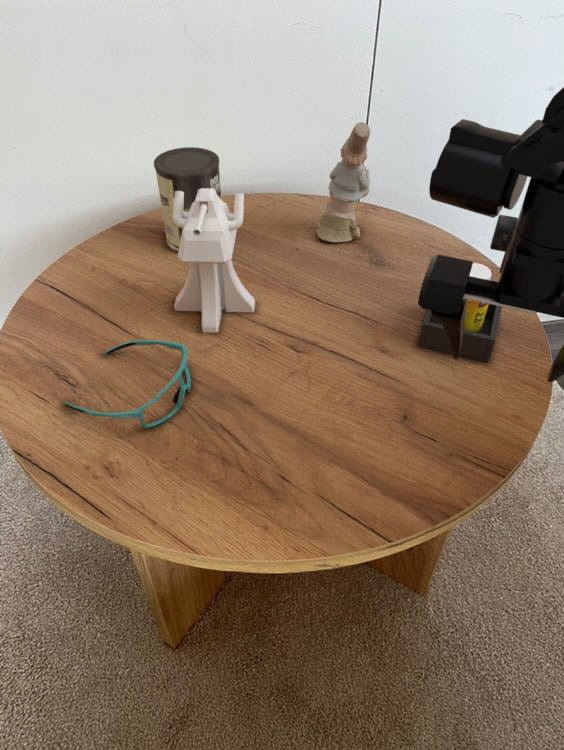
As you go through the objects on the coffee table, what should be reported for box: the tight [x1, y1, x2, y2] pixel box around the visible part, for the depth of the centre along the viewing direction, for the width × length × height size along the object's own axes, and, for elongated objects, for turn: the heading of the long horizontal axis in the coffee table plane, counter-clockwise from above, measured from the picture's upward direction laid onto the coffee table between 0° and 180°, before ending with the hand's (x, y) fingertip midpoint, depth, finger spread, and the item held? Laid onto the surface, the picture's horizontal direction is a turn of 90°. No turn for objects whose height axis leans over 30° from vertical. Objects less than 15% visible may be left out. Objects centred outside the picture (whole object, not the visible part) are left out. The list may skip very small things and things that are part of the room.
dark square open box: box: [417, 304, 503, 363], centre depth 82 cm, size 10×10×4 cm
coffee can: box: [153, 146, 222, 253], centre depth 97 cm, size 10×10×14 cm
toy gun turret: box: [173, 188, 256, 334], centre depth 81 cm, size 12×13×18 cm
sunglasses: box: [64, 339, 192, 429], centre depth 74 cm, size 14×15×5 cm
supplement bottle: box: [441, 262, 492, 333], centre depth 79 cm, size 6×6×10 cm
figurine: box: [314, 122, 371, 243], centre depth 96 cm, size 9×8×20 cm
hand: (501, 367), depth 59 cm, fingers open, 9 cm apart
